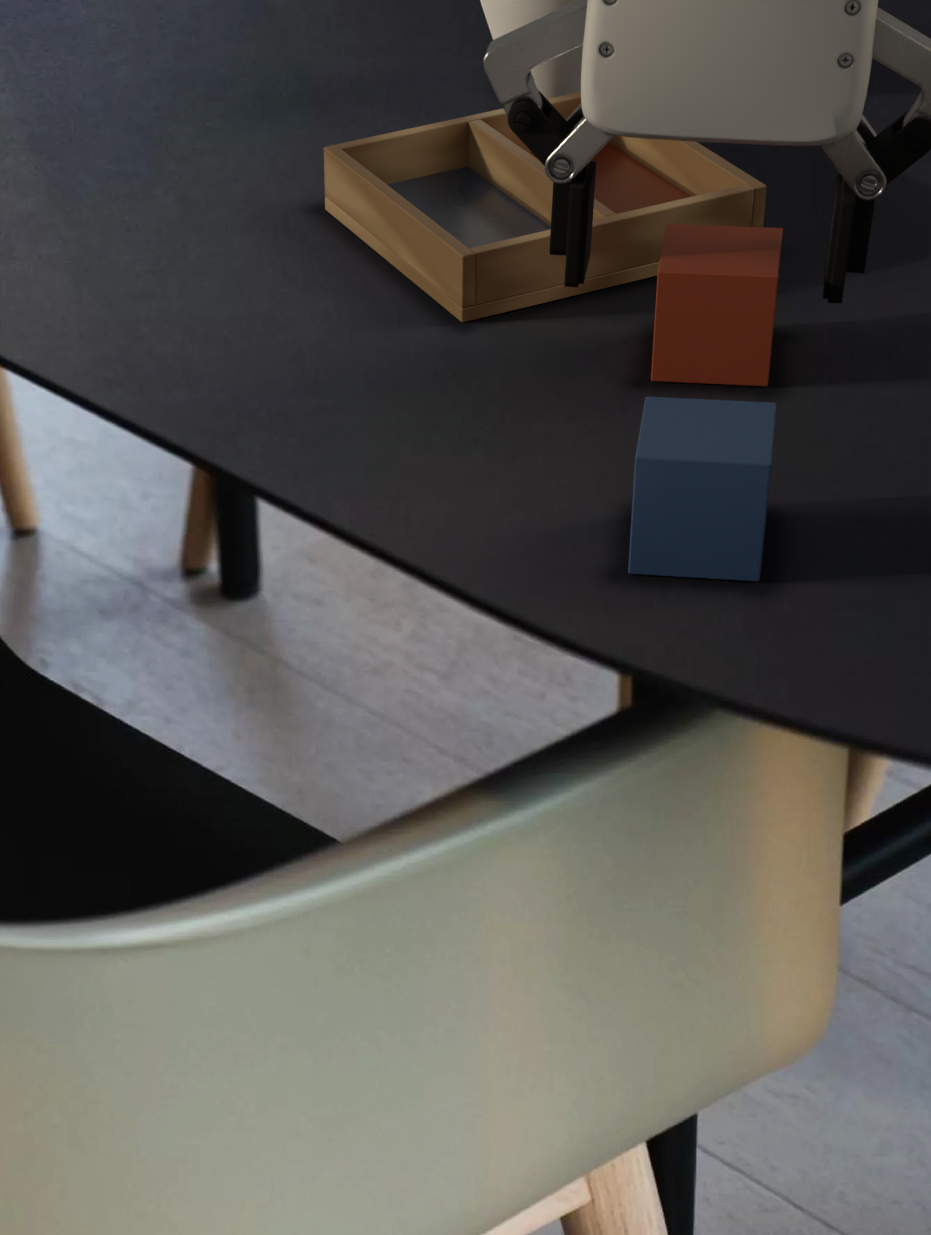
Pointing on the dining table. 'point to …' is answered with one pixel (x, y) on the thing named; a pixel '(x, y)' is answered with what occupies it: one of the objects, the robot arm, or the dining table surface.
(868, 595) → the dining table surface
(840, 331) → the dining table surface
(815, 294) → the dining table surface
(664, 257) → the terracotta block
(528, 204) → the tray
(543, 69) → the mug
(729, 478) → the blue block
